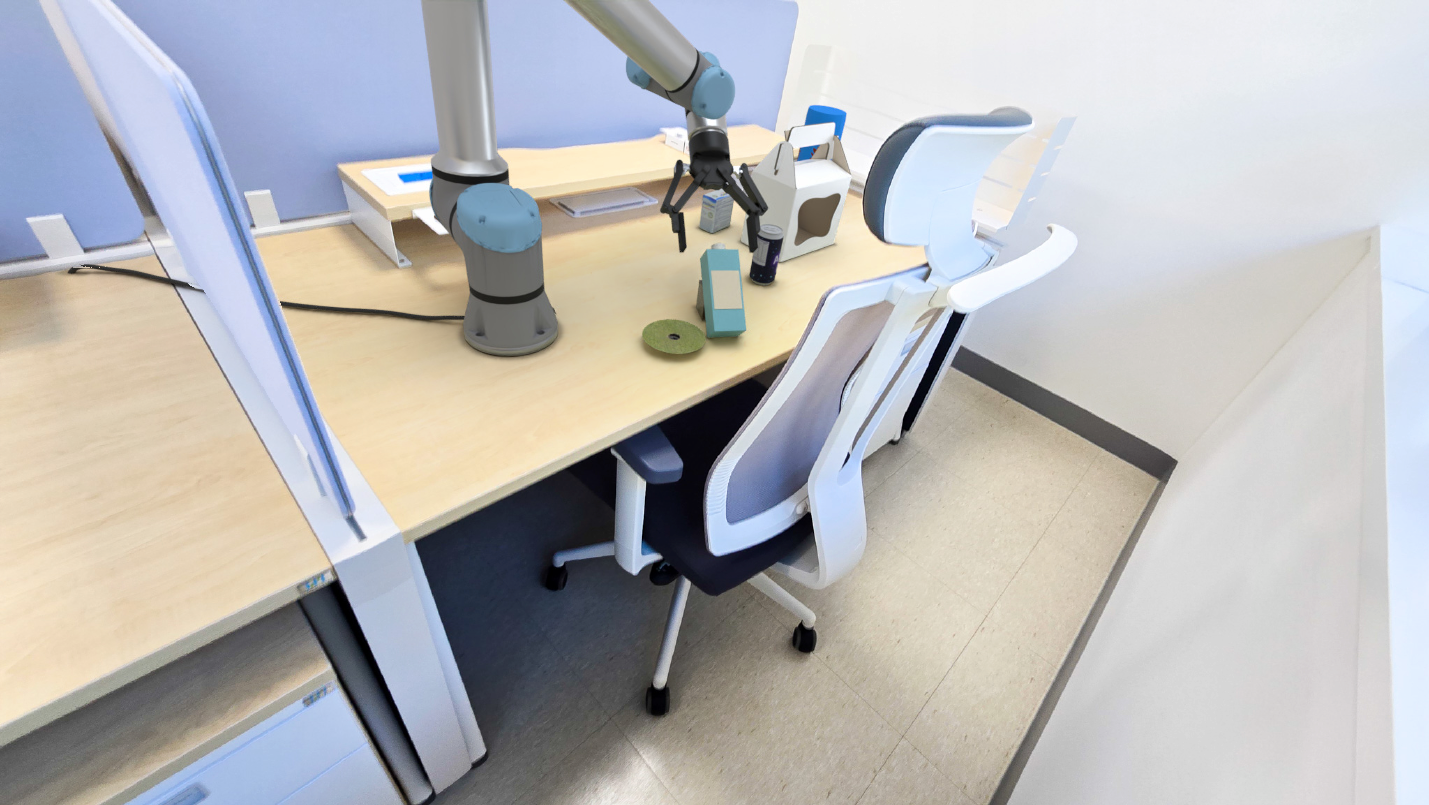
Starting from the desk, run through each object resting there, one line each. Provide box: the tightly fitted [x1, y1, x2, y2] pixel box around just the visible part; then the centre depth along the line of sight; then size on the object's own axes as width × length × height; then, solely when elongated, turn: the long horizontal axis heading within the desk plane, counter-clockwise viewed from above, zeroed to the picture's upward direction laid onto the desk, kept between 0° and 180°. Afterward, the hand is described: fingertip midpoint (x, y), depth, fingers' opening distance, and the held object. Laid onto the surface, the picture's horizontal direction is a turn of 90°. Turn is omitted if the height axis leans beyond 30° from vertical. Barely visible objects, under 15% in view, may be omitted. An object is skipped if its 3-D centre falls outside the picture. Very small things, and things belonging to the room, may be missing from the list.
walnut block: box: [695, 279, 706, 321], centre depth 111 cm, size 5×5×6 cm
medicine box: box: [698, 189, 735, 234], centre depth 145 cm, size 8×4×9 cm, turn 144°
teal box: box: [699, 242, 747, 338], centre depth 105 cm, size 6×14×14 cm, turn 15°
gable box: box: [740, 122, 853, 263], centre depth 137 cm, size 22×13×28 cm, turn 135°
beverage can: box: [748, 224, 784, 286], centre depth 123 cm, size 6×6×12 cm
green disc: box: [641, 318, 707, 355], centre depth 102 cm, size 11×11×2 cm
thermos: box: [796, 104, 847, 162], centre depth 165 cm, size 11×11×25 cm
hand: (719, 250), depth 106 cm, fingers open, 13 cm apart
